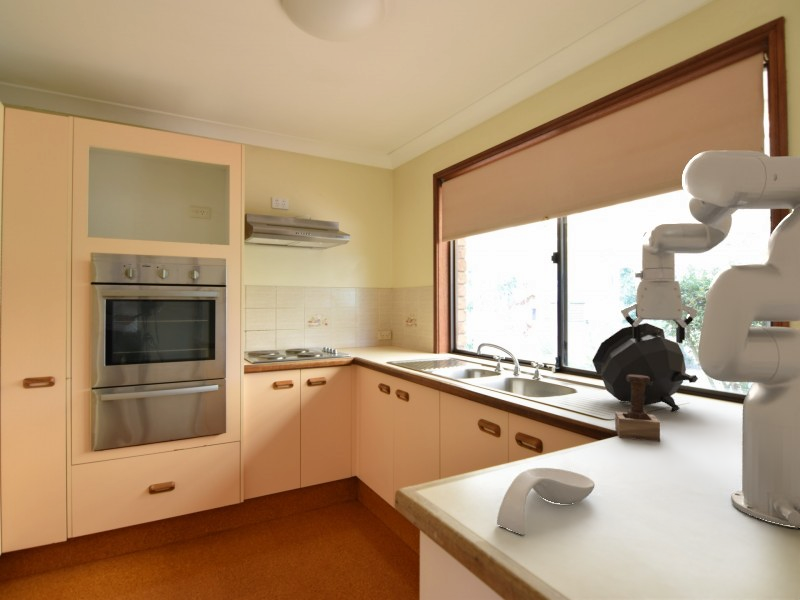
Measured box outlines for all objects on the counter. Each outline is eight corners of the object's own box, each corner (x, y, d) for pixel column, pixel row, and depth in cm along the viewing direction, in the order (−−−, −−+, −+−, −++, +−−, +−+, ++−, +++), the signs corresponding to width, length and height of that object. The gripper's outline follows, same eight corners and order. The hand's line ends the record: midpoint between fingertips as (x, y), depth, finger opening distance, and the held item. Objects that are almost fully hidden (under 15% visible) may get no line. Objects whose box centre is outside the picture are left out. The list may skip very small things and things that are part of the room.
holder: (659, 441, 116) (660, 422, 116) (619, 437, 119) (619, 418, 119) (653, 432, 124) (653, 414, 124) (615, 429, 127) (615, 411, 127)
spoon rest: (543, 480, 90) (543, 444, 90) (603, 497, 82) (604, 458, 82) (478, 521, 73) (478, 477, 73) (547, 549, 65) (548, 499, 65)
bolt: (650, 435, 118) (651, 378, 118) (629, 433, 119) (630, 376, 119) (644, 429, 123) (645, 374, 124) (624, 427, 124) (625, 373, 125)
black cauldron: (612, 402, 139) (575, 348, 158) (640, 436, 155) (603, 383, 174) (697, 353, 132) (647, 303, 151) (718, 395, 147) (670, 344, 166)
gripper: (623, 275, 116) (623, 342, 115) (701, 274, 111) (701, 344, 110) (619, 278, 123) (619, 340, 123) (691, 277, 118) (692, 342, 117)
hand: (658, 342), depth 116 cm, fingers open, 9 cm apart
